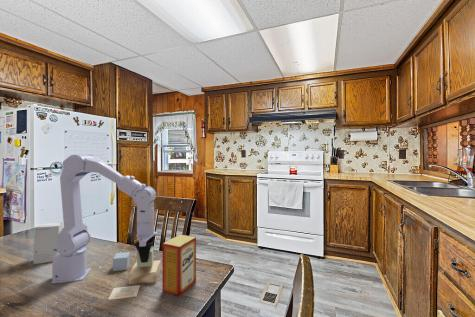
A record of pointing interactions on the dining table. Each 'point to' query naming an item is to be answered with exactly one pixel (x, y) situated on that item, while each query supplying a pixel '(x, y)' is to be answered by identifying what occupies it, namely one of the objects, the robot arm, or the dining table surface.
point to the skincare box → (46, 242)
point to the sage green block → (150, 260)
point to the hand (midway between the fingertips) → (145, 258)
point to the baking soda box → (179, 264)
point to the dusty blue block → (121, 261)
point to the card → (124, 292)
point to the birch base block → (145, 273)
